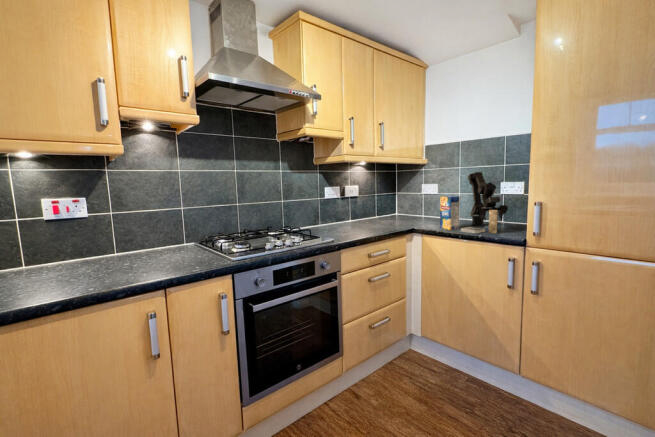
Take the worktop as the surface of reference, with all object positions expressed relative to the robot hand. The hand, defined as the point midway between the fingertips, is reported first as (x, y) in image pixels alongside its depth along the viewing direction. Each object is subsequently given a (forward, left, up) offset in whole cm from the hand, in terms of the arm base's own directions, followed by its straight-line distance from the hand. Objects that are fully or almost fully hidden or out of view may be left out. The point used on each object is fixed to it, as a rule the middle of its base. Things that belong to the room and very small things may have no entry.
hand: (493, 220), depth 186 cm
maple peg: (0, 0, -8) cm, 8 cm away
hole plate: (-10, -5, -8) cm, 14 cm away
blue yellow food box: (-27, -6, -8) cm, 29 cm away
